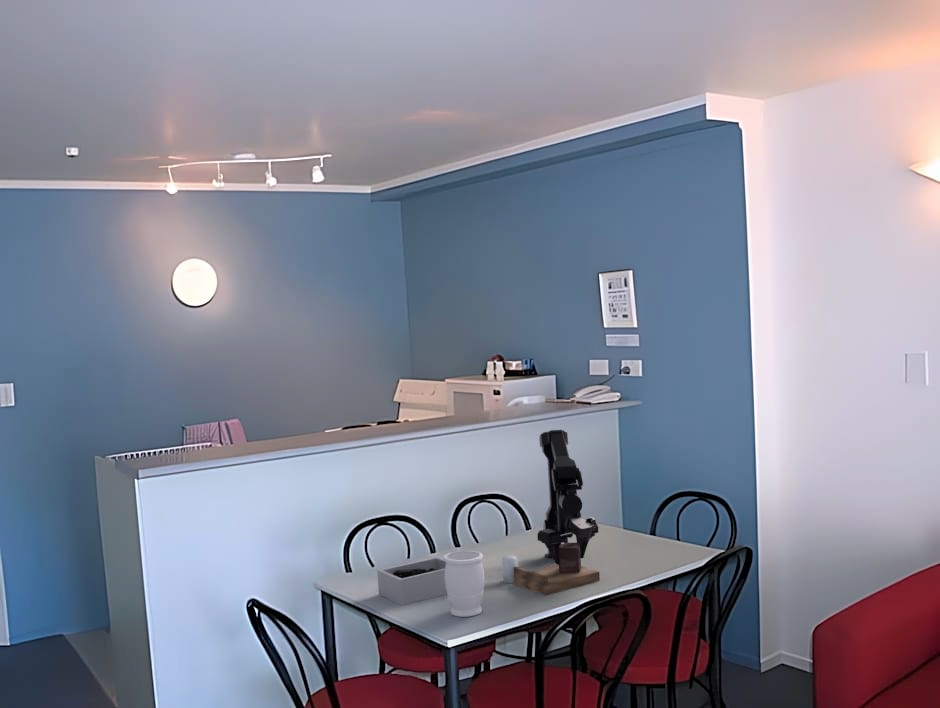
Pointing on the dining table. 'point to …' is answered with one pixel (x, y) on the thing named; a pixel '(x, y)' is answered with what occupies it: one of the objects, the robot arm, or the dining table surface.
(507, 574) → the white block
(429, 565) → the box
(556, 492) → the robot arm
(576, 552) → the box
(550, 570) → the striped wooden slab
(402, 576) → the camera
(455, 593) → the jar
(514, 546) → the dining table surface
